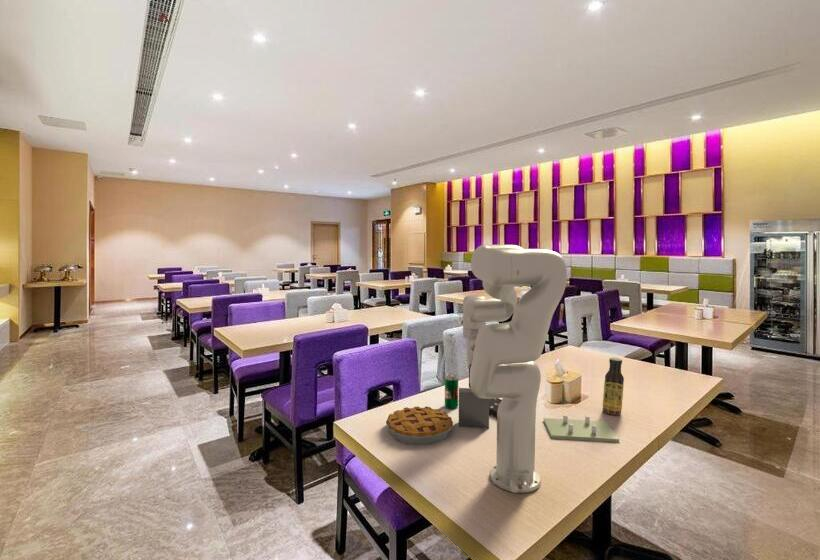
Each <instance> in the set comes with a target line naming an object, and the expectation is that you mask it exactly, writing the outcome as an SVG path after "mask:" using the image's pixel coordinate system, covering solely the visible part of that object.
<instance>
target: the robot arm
mask: <svg viewBox="0 0 820 560" xmlns="http://www.w3.org/2000/svg"><path fill="white" fill-rule="evenodd" d="M470 267H471V272H472V274H473V276H475V278H477V279H479V280H480V281H481V282H482V287H483V290H484V291H485V293H486V294H487V295H488V296H490V297H485V296H482V295H479V294H477V295H476V294H475V295H474V294H472V295H471V294H470V295H465V296H464V297H463V300H462V301H463V302H462V303H463V304H462V338H464V339H466V340H465V341H466V343H465V344H466V361H467V368H468V388H471V390H472V392H473V393H474V395H476V396H477V397H479V398H482V399H493V398H499V399H501V400H502V401H501V402H500V405H499V407H498V411H497V417H496V460H495V461H496V464H495V465H493V466H492V467H491V468H490V471H489V477H490V480H491V481H492V482H493V484H494V485H496V486H497V487H498V488H500V489H502V490H505V491H508V492H512V493H513V494H515V493H518V494H523V493H524V494H525V493H531V492H533V491H536V490H537V489H538V488H539V487H540V486H541V481H542V478H541V475H540V473H539V472H538V471H537V470H536V469H535V465H536V464H535V462H536V461H535V460H536V420H537V418H536V416H537V401H538V397H539V396H538V395H539V391H540V388H541V387H540V386H541V380H542V379H541V378H542V377H541V376H542V373H541V370H540V367H539V366H538V364H537V363H536V362H535V361H537V360H538V359H539V358H540V357H541V355H542V353H543V350H544V347H545V344H546V341H547V337H548V334H549V333H548V332H549V330H550V326H551V322H552V319H553V316H554V314H555V311H556V309H557V307H558V305H559V303H560V301H561V300H562V297H563V295H564V293H565V290H566V287H567V283H568V282H567V280H568V270H567V269H568V268H567V264H566V261H565V259H564V257H562V255H561V254H560V253H558V252H556V251H553V250H552V249H544V248H523V247H521V246H519V245H516V244H481V245H479V246H478V247H476V248H475V250H474V251H473V253H472V256H471V260H470ZM521 286H522V287H524V286H531V288H530V289H529V290H528V291H527V292H525V293H524V294H523V295H522V296H521V297H520V299H519V300H518V296H517V295H518V294H517V292H516V289H515V287H521ZM511 316H512V317H511ZM510 318H511V320H510V321H509V322H506V323H505V322H504V321H507V320H508V319H510ZM493 322H495V323H493ZM496 322H504V323H496ZM487 323H490V324H487Z"/></svg>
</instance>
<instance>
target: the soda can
mask: <svg viewBox="0 0 820 560" xmlns="http://www.w3.org/2000/svg"><path fill="white" fill-rule="evenodd" d="M444 406H445V408H446V409H450V410H452V409H453V410H454V409H457V408H459V377H458V375H457V374H454V373H448V374H446V375H445V377H444Z"/></svg>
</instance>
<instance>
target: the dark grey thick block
mask: <svg viewBox="0 0 820 560" xmlns="http://www.w3.org/2000/svg"><path fill="white" fill-rule="evenodd" d="M458 428H471V429H490V414H489V399H482V398H479V397H477V396H476V395H474V393H473V392H472V390H471V388H469V387H458Z"/></svg>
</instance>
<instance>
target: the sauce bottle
mask: <svg viewBox="0 0 820 560" xmlns="http://www.w3.org/2000/svg"><path fill="white" fill-rule="evenodd" d="M622 365H623V360H622V358H619V357H610V358H609V368H608V371H607V372H606V374H605V375H604V378H605V379H604V384H603V398H602V411H603V412H604V413H606V414H607V415H612V416H613V415H614V416H620V415H621V414H622V409H623V399H624V382H625V380H624V379H625V377H624V375H623V374H622Z"/></svg>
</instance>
